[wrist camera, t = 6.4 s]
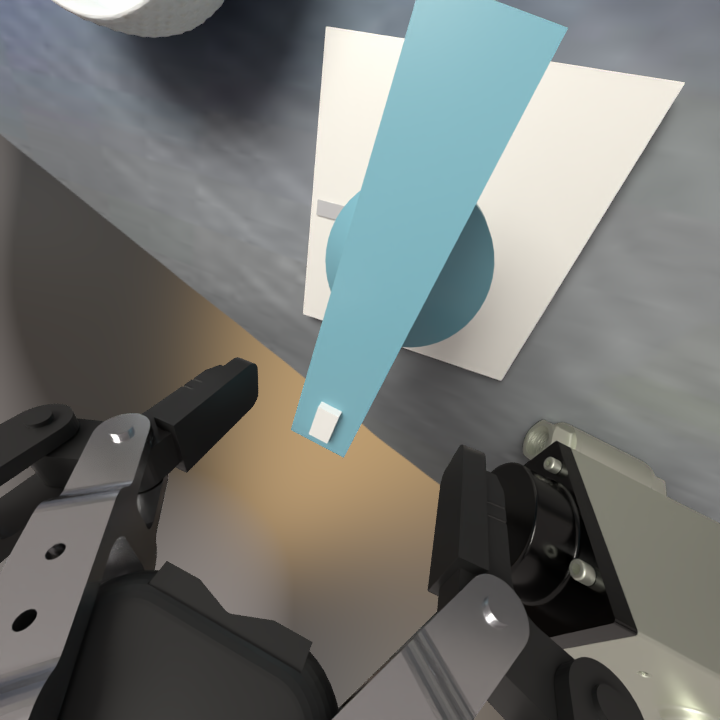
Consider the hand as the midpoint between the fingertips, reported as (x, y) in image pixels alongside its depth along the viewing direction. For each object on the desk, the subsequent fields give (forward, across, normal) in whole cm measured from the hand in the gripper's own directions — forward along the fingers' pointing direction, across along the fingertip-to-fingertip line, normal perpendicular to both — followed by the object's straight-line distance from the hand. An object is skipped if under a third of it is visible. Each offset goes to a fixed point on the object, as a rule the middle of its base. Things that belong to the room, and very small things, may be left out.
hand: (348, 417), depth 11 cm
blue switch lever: (+8, 0, -4) cm, 9 cm away
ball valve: (+16, -18, +10) cm, 26 cm away
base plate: (+15, 0, -4) cm, 16 cm away
